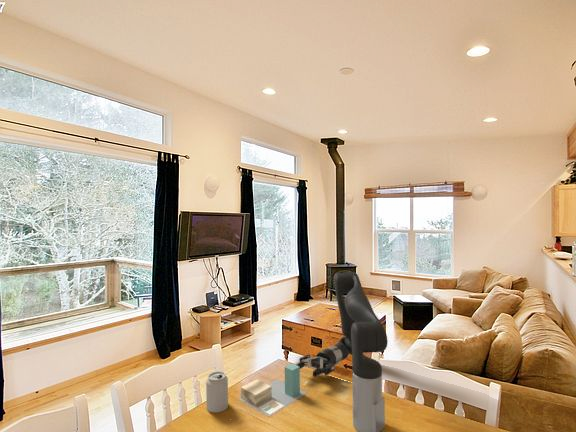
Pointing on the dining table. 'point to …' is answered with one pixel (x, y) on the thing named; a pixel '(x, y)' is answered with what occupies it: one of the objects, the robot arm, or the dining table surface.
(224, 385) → the can
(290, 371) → the pillar
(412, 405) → the dining table surface
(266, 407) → the mat
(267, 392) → the base block
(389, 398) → the dining table surface
